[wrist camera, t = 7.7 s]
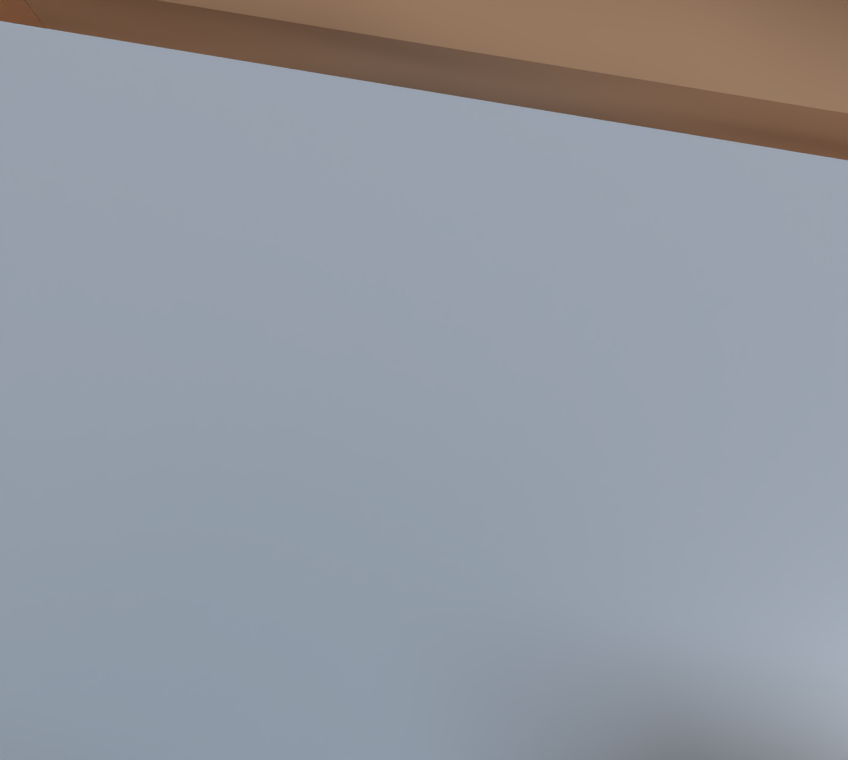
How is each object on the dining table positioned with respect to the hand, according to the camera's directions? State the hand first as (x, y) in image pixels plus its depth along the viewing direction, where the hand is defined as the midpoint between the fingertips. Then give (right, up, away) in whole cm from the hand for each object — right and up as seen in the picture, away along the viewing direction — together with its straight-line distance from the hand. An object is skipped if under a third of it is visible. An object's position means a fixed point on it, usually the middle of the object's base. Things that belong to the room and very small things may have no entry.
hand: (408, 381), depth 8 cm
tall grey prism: (0, +1, +8) cm, 8 cm away
